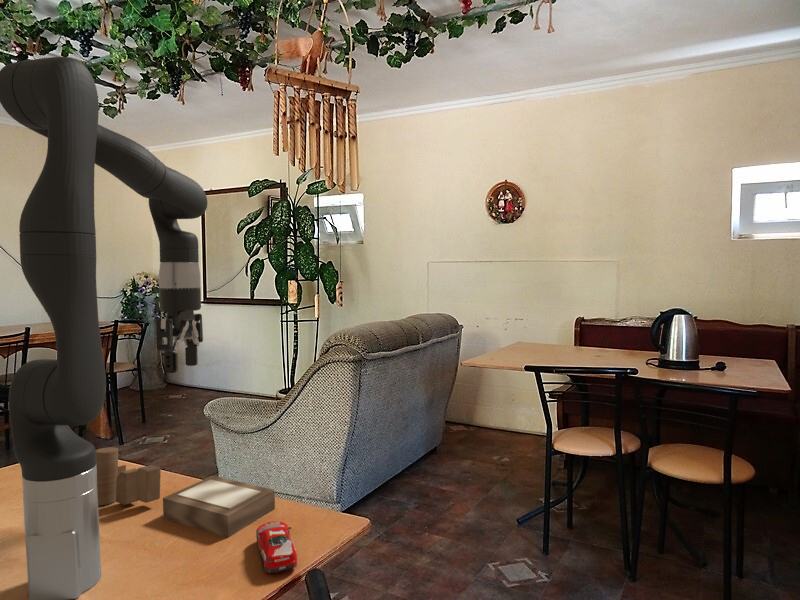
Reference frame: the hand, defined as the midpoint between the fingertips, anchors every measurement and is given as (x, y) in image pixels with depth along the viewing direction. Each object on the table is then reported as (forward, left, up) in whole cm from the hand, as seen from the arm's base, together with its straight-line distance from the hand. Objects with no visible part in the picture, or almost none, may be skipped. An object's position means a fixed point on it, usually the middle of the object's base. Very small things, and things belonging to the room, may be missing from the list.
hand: (181, 368), depth 109 cm
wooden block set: (+2, +12, -26) cm, 29 cm away
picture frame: (-9, -7, -26) cm, 29 cm away
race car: (-23, -16, -28) cm, 40 cm away
